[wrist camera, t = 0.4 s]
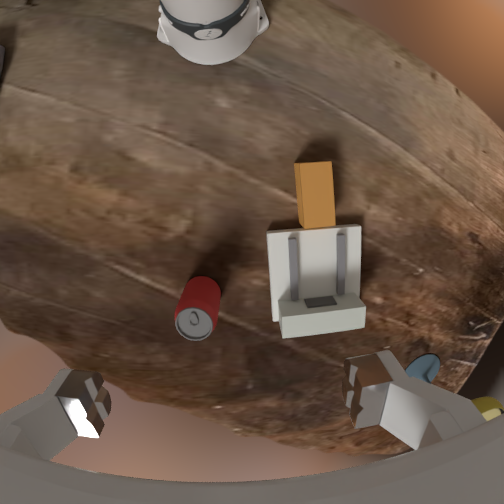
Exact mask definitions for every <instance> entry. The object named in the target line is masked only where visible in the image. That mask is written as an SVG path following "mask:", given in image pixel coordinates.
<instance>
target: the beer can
mask: <svg viewBox="0 0 504 504" xmlns="http://www.w3.org/2000/svg"><path fill="white" fill-rule="evenodd" d="M220 297H221V291H220V288H219V286H218V284H217V283H216V282H215V281H214V280H213V279H211V278H209V277H205V276H198V277H194V278H192V279H191V280H190V281H189V282H188V283H187V284H186V286H185V288H184V291H183V293H182V295H181V298H180V300H179V303H178V305H177V308H176V310H175V325H176V328H177V330H178V332H179V333H180V334H181V335H182V336H183V337H184V338H187V339H189V340H194V341H198V340H203V339H205V338H207V337H208V336H209V335H210V334H211V332H212V331H213V330H214V328H215V326H216V324H217V319H218V312H219V305H220Z"/></svg>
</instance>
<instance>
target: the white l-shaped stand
mask: <svg viewBox="0 0 504 504" xmlns="http://www.w3.org/2000/svg"><path fill="white" fill-rule="evenodd" d="M266 233H267V247H268V261H269V275H270V290H271V305H272V318H273V321H279V324H280V328H281V333H282V337H283V338H291V337H300V336H308V335H316V334H324V333H331V332H338V331H345V330H352V329H358V328H364V326H365V314H366V306H365V305H364V303H363V302H362V301H361V300H360V298H359V296H360V272H361V226H360V225H358V224H348V225H336V226H327V227H317V228H308V229H304V228H296V229H284V230H273V231H266Z"/></svg>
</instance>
